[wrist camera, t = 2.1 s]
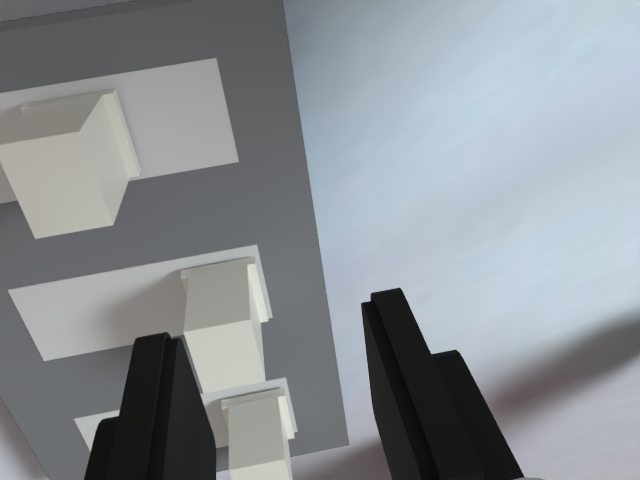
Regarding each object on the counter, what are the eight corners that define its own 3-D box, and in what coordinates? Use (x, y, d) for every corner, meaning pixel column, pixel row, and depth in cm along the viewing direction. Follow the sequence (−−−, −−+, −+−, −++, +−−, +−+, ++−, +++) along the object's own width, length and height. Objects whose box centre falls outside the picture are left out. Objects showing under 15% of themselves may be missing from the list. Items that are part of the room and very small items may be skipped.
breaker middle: (181, 270, 28) (173, 334, 24) (254, 256, 28) (260, 317, 24) (199, 327, 30) (194, 395, 25) (267, 314, 30) (274, 379, 26)
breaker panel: (-152, 46, 24) (-200, 64, 21) (275, -22, 25) (280, -12, 22) (74, 462, 38) (63, 504, 35) (341, 409, 39) (349, 446, 36)
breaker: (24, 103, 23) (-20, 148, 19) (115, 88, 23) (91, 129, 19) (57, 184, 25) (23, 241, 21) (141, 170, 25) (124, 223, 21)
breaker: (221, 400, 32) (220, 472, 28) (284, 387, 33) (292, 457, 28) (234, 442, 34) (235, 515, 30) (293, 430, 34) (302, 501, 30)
